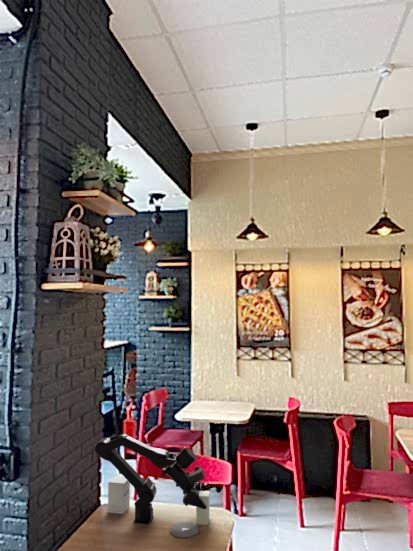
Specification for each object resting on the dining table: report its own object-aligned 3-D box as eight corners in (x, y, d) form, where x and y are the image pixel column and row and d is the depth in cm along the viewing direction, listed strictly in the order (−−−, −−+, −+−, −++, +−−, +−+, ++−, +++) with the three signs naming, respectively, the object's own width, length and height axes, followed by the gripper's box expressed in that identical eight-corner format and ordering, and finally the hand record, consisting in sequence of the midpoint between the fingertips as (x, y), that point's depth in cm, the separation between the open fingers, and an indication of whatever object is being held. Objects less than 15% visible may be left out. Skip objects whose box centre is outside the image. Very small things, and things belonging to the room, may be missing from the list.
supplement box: (123, 514, 189) (123, 483, 190) (107, 512, 190) (107, 482, 191) (130, 506, 196) (130, 477, 197) (114, 505, 197) (114, 475, 198)
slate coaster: (166, 535, 171) (166, 533, 171) (175, 522, 181) (175, 520, 181) (193, 539, 168) (193, 537, 168) (201, 525, 179) (201, 524, 179)
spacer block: (196, 524, 180) (196, 496, 180) (197, 518, 185) (197, 490, 185) (208, 524, 179) (208, 496, 180) (209, 518, 184) (209, 491, 185)
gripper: (191, 470, 175) (219, 500, 173) (195, 454, 193) (220, 481, 192) (171, 491, 175) (199, 521, 173) (176, 473, 193) (202, 500, 192)
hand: (206, 504), depth 182 cm, fingers open, 7 cm apart
